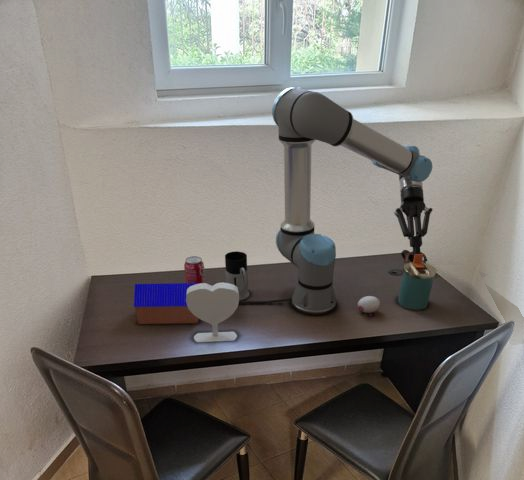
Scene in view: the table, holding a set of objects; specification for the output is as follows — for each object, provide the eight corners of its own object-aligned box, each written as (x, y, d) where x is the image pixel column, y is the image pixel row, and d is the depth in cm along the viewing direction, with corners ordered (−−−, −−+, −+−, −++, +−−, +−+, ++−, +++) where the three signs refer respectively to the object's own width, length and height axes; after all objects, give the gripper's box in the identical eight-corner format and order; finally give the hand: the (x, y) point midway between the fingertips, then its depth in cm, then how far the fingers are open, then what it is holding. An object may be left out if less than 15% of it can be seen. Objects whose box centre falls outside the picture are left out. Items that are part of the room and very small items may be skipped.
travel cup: (393, 295, 166) (400, 260, 158) (422, 294, 166) (430, 259, 158) (401, 310, 158) (409, 274, 149) (432, 310, 158) (441, 273, 150)
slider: (412, 263, 157) (414, 254, 155) (421, 263, 157) (423, 253, 155) (415, 268, 154) (417, 258, 152) (424, 267, 154) (426, 258, 152)
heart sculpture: (240, 331, 147) (238, 280, 137) (240, 340, 143) (238, 288, 133) (191, 333, 146) (185, 282, 136) (190, 342, 142) (184, 290, 132)
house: (198, 323, 151) (195, 292, 144) (137, 324, 150) (131, 293, 144) (201, 305, 160) (198, 274, 154) (143, 305, 160) (138, 275, 153)
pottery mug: (430, 268, 185) (433, 256, 177) (414, 283, 183) (416, 271, 176) (407, 252, 190) (409, 240, 183) (391, 266, 188) (392, 254, 181)
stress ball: (373, 315, 161) (370, 296, 161) (384, 313, 153) (382, 293, 153) (353, 318, 159) (351, 298, 159) (364, 316, 151) (361, 296, 151)
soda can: (203, 284, 173) (201, 254, 166) (207, 292, 168) (205, 262, 161) (185, 286, 171) (181, 256, 164) (188, 295, 166) (185, 265, 159)
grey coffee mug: (244, 287, 171) (244, 249, 162) (257, 305, 160) (257, 265, 152) (222, 290, 169) (220, 252, 160) (233, 309, 158) (232, 269, 149)
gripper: (396, 185, 157) (401, 251, 153) (434, 185, 157) (440, 251, 153) (389, 196, 164) (394, 259, 160) (425, 196, 165) (431, 259, 161)
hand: (417, 255), depth 157 cm, fingers closed
